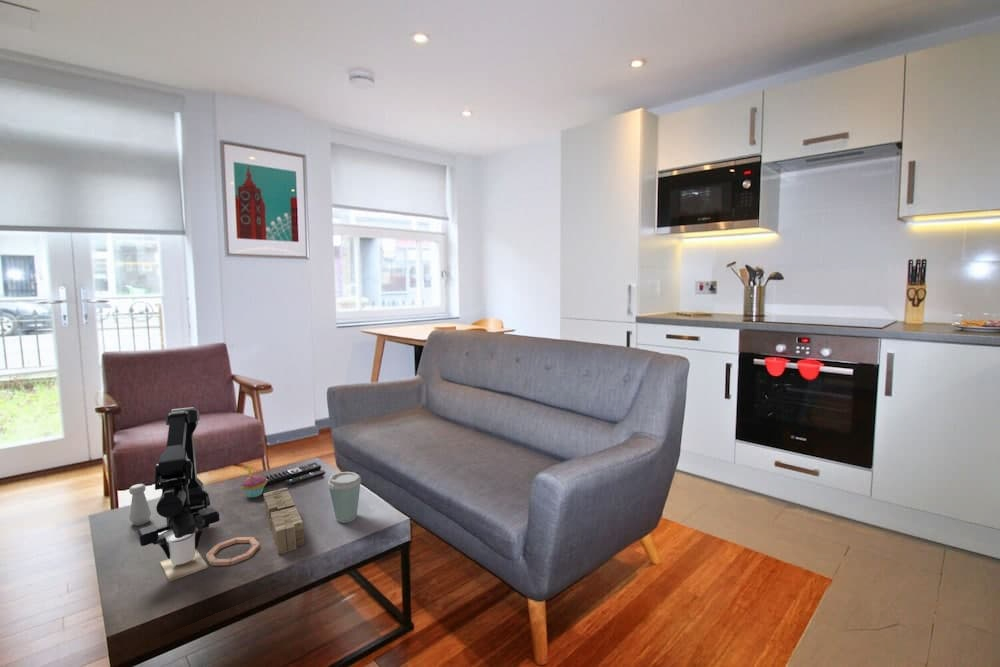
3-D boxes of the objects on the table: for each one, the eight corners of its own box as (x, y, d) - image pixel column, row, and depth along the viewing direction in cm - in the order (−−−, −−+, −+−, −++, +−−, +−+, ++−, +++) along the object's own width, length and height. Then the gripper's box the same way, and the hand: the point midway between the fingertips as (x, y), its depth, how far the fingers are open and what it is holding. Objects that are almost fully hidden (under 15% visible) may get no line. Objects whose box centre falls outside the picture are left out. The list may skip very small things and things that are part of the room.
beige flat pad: (160, 563, 139) (160, 561, 139) (196, 550, 146) (196, 548, 145) (169, 582, 131) (169, 579, 131) (207, 567, 137) (207, 565, 137)
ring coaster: (202, 552, 144) (202, 549, 144) (249, 535, 154) (249, 532, 153) (215, 571, 135) (214, 567, 135) (264, 551, 144) (264, 548, 144)
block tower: (305, 550, 147) (289, 508, 172) (304, 523, 146) (288, 485, 170) (277, 558, 143) (264, 514, 167) (275, 531, 142) (263, 491, 166)
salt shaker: (125, 525, 161) (121, 488, 160) (143, 517, 167) (139, 480, 165) (139, 528, 159) (134, 490, 158) (155, 519, 165) (151, 482, 163)
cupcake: (237, 499, 178) (234, 468, 177) (250, 489, 187) (247, 459, 185) (260, 499, 178) (258, 468, 177) (272, 489, 186) (269, 459, 185)
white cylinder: (192, 549, 143) (189, 526, 142) (201, 557, 138) (199, 534, 138) (164, 560, 138) (162, 536, 137) (173, 569, 133) (170, 545, 132)
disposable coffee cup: (357, 507, 171) (355, 466, 169) (367, 520, 162) (365, 477, 160) (326, 516, 165) (323, 474, 163) (335, 530, 156) (332, 485, 154)
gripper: (141, 523, 124) (147, 581, 126) (222, 499, 137) (227, 551, 139) (133, 509, 132) (140, 563, 134) (211, 487, 145) (216, 536, 147)
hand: (182, 553), depth 138 cm, fingers closed on white cylinder, 6 cm apart
